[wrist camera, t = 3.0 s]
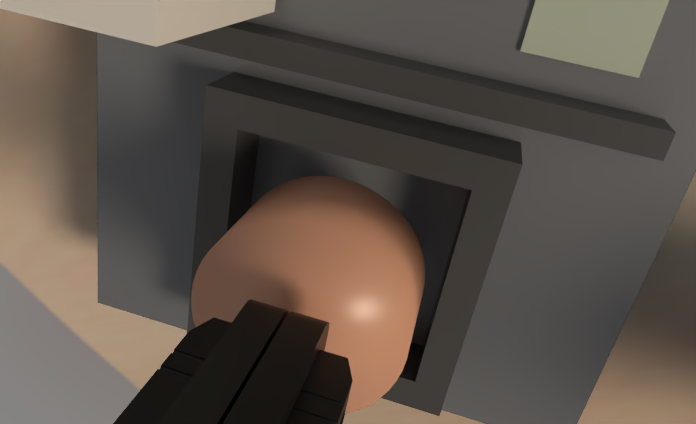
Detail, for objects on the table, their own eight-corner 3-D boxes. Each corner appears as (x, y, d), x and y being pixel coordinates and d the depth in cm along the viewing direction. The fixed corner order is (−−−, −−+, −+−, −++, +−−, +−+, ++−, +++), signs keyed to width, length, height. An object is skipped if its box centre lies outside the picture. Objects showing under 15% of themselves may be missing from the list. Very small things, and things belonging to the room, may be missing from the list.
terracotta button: (248, 153, 13) (199, 194, 11) (447, 206, 13) (435, 260, 10) (230, 316, 15) (184, 378, 13) (401, 369, 15) (382, 443, 12)
